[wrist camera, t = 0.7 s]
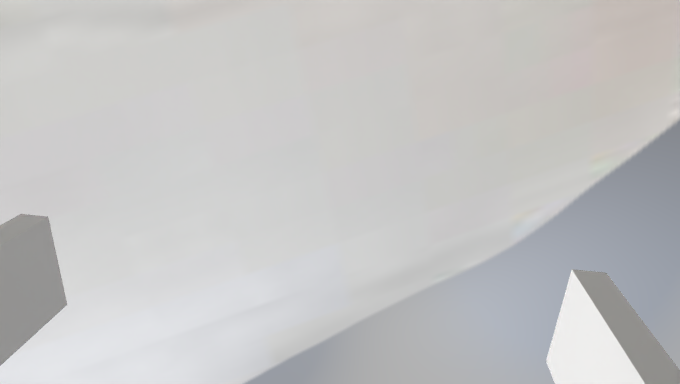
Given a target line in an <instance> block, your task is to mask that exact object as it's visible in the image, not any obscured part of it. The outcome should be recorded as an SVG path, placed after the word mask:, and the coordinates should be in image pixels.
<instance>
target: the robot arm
mask: <svg viewBox="0 0 680 384" xmlns="http://www.w3.org/2000/svg"><path fill="white" fill-rule="evenodd" d="M66 305H67V301H66V297H65V292H64V288H63V283H62V278H61V274H60V269H59V265H58V260H57V255H56V251H55V246H54V242H53V237H52V233H51V228H50V223H49V219H48V217H45V216H35V215H25V214H20V215H18V216H16V217H15V218H13V219H11V220H9V221H7V222H6V223H4V224H2V225H0V365H2V364H3V363H4V362H5V361H6V360H7V359H8V358H9V357H10V356H11V355H13V354H14V353H15V352H16V351H17V350H18V349H19V348H20V347H21V346H22V345H23V344H25V343H26V342H27V341H28V340H29V339H30V338H31V337H32V336H33V335H34V334H36V333H37V332H38V331H39V330H40V329H41V328H42V327H43V326H44V325H45V324H46V323H48V322H49V321H50V320H51V319H52V318H53V317H54V316H55V315H56V314H57V313H58V312H60V311H61V310H62V309H63V308H64V307H65V306H66ZM546 362H547V365H548V367H549V370H550V372H551V374H552V377H553V379H554V382H555V384H680V370H679V368H678V367H677V366H676V364H675V363H674V362H673V360H672V359H671V358H670V357H669V355H668V354H667V353H666V351H665V350H664V349H663V347H662V346H661V345H660V343H659V342H658V341H657V339H656V338H655V337H654V335H653V334H652V333H651V332H650V330H649V329H648V328H647V326H646V325H645V324H644V322H643V321H642V320H641V318H640V317H639V316H638V314H637V313H636V312H635V310H634V309H633V308H632V307H631V305H630V304H629V302H628V301H627V300H626V299H625V297H624V296H623V295H622V293H621V292H620V291H619V289H618V288H617V287H616V285H615V284H614V283H613V281H612V280H611V279H610V277H609V276H608V275H607V273H603V272H592V271H583V270H573V269H572V271H571V275H570V278H569V282H568V285H567V289H566V292H565V296H564V299H563V303H562V307H561V310H560V314H559V317H558V321H557V324H556V328H555V332H554V335H553V338H552V342H551V346H550V349H549V353H548V357H547V360H546Z"/></svg>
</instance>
